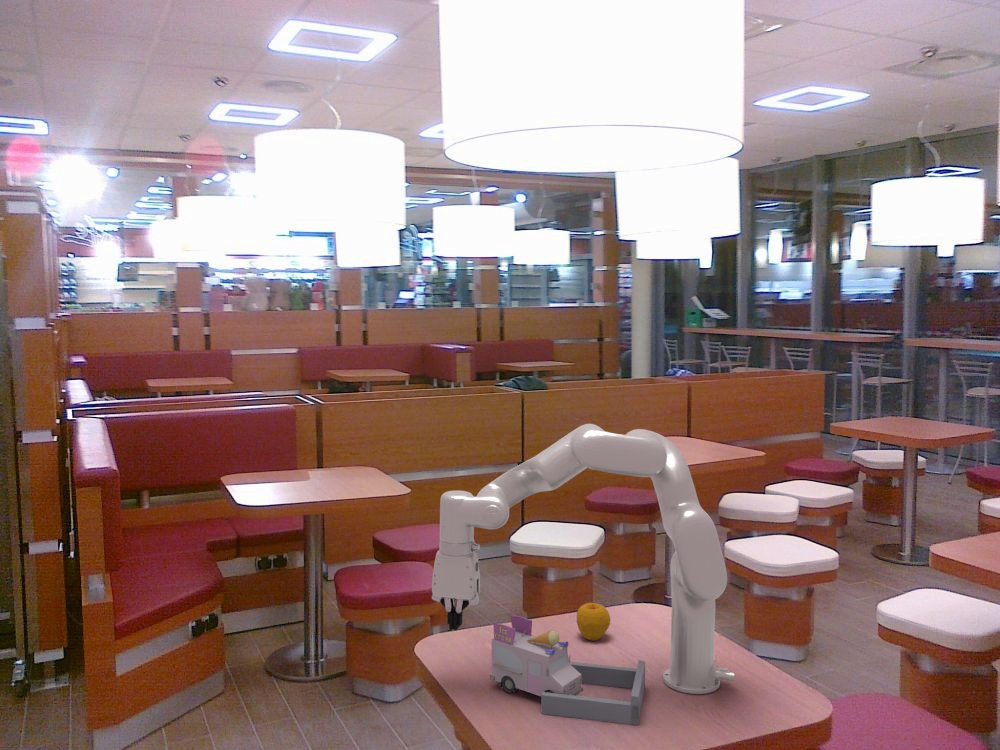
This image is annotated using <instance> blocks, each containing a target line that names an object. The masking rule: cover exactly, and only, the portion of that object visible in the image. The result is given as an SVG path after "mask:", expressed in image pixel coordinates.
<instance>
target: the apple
mask: <svg viewBox="0 0 1000 750" xmlns="http://www.w3.org/2000/svg"><path fill="white" fill-rule="evenodd" d="M576 624H577V628H578V630H579V632H580V634H581V636H582V637H583V638H584V639H585V640H588V641H594V642H595V641H598V640H599V639H601V638H602V637H603V636H604V635H605V633H606V632H607V631H608V629H609V627H610V625H611V617H610V613H609V611H608V610H607V609H606V607H605V606H604V605H602V604H599V603H596V602H587V603H583V605H581V606H579V608H578V609H577V612H576Z"/></svg>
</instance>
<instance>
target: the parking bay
mask: <svg viewBox="0 0 1000 750" xmlns="http://www.w3.org/2000/svg"><path fill="white" fill-rule="evenodd" d="M570 665H571V666H572V667H574V668H575V669H576V670H577V671H578V672H579V673H580V674H581V675H582V678H581V684H588V685H598V686H607V687H615V688H624V689H625V688H626V689H632V690H631V694H630V701H625V700H617V699H615V700H614V699H608V698H607V699H606V698H600V697H599V698H598V697H591V696H581V695H576V696H574V695H565V694H557V693H548V692H542V695H541V696H540V698H541V699H540V700H541V702H540V709H541V710H540V714H543V715H550V716H557V717H559V716H560V717H568V718H575V719H581V720H582V719H584V720H590V721H591V720H592V721H601V722H607V723H608V722H610V723H618V724H625V725H634V726H638V725H639V721H640V716H641V711H642V710H641V709H642V704H643V700H644V693H645V688H646V660H638V661H637V666H636V668H633V667H624V666H623V667H622V666H614V665H606V664H605V665H603V664H595V663H586V662H577V661H570Z"/></svg>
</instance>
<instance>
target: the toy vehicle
mask: <svg viewBox="0 0 1000 750" xmlns="http://www.w3.org/2000/svg"><path fill="white" fill-rule="evenodd" d="M509 616H510V617H509V618H510V623H511V627H510V626H509V625H506V624H502V623H497V622H493V626H492V627H493V638H492V639H491V674H490V675H489V679H490V680H491V681H493V682H494V681H495V682H498V683H499V688H503V690H505V692H507V693H509V694H511V693H514V692H516V691H517V689H518V690H521V691H524V692H527V693H530V694H533V695H536V696H539V697H541V695H542V692H548V693H557V694H565V695H574V696H578V694H580V693H581V692H583V691H584V686H582V683H581V678H582V675H581V674H580V673H579V672H578V671H577V670H576V669H575V668H574V667H572V666H571V665H570V662H571V655H569V654H568V647H569V641H560V635H559V634H558V633H557V631H555V630H550V631H547V632H544V633H541V634H539V635H537V636H535V635H532V633H533V632H532V631H533V629H532V628H533V620H532V619H529V618H526V617H524V616H520V615H515V614H510V615H509Z"/></svg>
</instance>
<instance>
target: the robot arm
mask: <svg viewBox="0 0 1000 750" xmlns="http://www.w3.org/2000/svg"><path fill="white" fill-rule="evenodd" d="M587 469H590V470H594V471H598V472H604V473H609V474H610V473H611V474H617V475H624V476H630V477H631V476H632V477H638V478H650V480H651V482H652V484H653V487H654V492H655V494H656V498H657V502H658V506H659V510H660V515H661V520H662V526H663V530H664V531H665V533H666V535H667V536H668V537H669V539H670V540H671V541H672V545H673V548H674V552H673V554H672V557H671V559H670V583H671V613H670V614H671V616H670V618H671V619H670V620H671V623H670V664H669V668H667V669H666V670H664V672H663V674H662V681H663V683H664V684H665V685H666V686H667V687H669V688H671V689H673V690H675V691H676V692H681V693H685V694H691V695H704V694H709V693H712V692H716V691H717V690H718V689H719V688H720V686H721V681H722V680H724V681H728V682H734V681H735V671H729V668H727V667H718V665H716V660H715V625H716V600H717V599H718V598H720V597H721V596H722V594H723V593H724V592H725V590H726V588H727V584H728V573H727V567H726V563H725V558H724V554H723V551H722V546H721V542H720V539H719V534H718V530H717V529H716V525H715V522H714V521H713V519H712V518H711V517H710V515H709V514H708V513H707V512H706V511H705V510H704V509H703V508H702V506H701V504H700V502H699V498H698V495H697V492H696V491H697V490H696V487H695V484H694V482H693V478H692V475H691V472H690V471H691V470H690V468H689V466H688V463H687V461H686V460H685V458H684V455H683V454H682V453H681V451H680V450H679V448H678V447H677V446H676V445H675V444H674V443H673V442H672V441H671V440H669V439H668V438H666V437H665V436H664V435H662V434H659V433H658V432H655V431H652V430H648V429H644V428H636V429H632V430H630V431H628V432H627V433H626V434H620V433H614V432H609V431H605V430H604V429H603V428H601V426H598V425H597V424H594V423H586V424H582V425H579V426H578V427H576V428H575V429H574V430H572V431H570V432H569V433H567V434H566V435H565V436H563V437H560V439H558V440H557V441H556V442H554V443H553V444H552V445H550V446H548V447H547V448H545V449H544V450H542V451H541V452H539V453H538V454H536V455H534V456H533V457H531V458H529V459H527V460H525V461H524V462H522V463H520V464H519V465H518V464H517V465H516V466H514V467H513V468H510V469H509V470H507V471H506V472H504V473H503V474H501V475H500V476H498V477H496V478H495V479H494V480H492V481H490V482H489V483H488V484H486V485H485V486H483V487H482V488H481V489H480V490H479V491H478V493H477V495H476V496H474V495H473V494H472V493H471V492H469V491H466V490H449V491H445V492H444V493H442V495H441V496H440V501H439V502H440V504H439V505H440V506H439V546H438V547H439V550H437V552H436V554H435V559H434V566H433V571H432V580H431V581H432V582H431V593H432V595H431V600H433V601H435V602H437V603H440V604H441V605H442V606H443V607H444V608H445V612H447V618H446V619H447V621H446V622H447V625H448V626H449V627H448V629H449V631H452V630H454V631H457V630H458V629H459V628H460V627H461V626H462V624H463V611H464V610H465V609H466V608H468V606H477V605H478V604H479V603H480V599H479V594H480V590H481V579H480V578H481V577H480V576H481V575H480V566H479V565H480V564H479V557H478V553H477V552H476V551H479V550H480V548H481V544H480V543H479V544H478V543H476V542H475V539H474V537H475V535H474V534H475V528H480V529H486V530H496V529H500V528H502V527H503V526H505V524H506V523H507V522H508V520H509V518H510V509H511V508H512V507H513V506H515V505H516V504H519V503H520V502H521V501H524V500H525V499H526V498H529V497H530V496H533V495H535V494H537V493H542V492H551V491H554V490H557V489H558V488H560V487H562V486H563V485H564V484H565V483H567V482H568V481H570V480H571V479H573V478H574V477H576V476H577V475H579V474H580V473H582V472H583V471H584V470H587ZM455 600H456V601H457V603H456V606H455Z"/></svg>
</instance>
